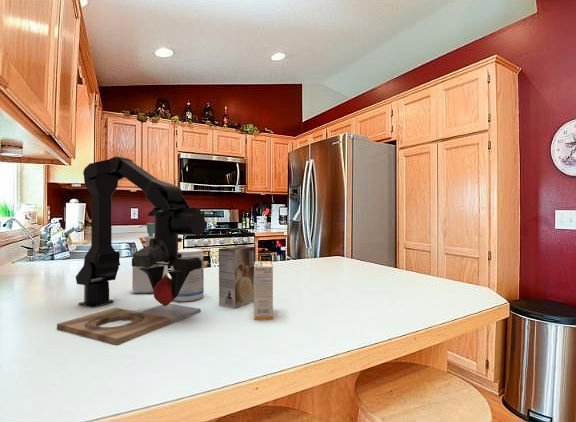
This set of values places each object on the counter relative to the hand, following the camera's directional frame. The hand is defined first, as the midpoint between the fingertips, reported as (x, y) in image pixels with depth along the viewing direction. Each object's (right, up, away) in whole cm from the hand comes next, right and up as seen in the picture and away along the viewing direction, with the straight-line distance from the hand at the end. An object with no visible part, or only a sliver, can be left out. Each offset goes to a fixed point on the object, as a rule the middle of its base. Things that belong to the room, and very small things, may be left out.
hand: (165, 295), depth 82 cm
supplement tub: (0, -5, +16) cm, 17 cm away
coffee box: (+17, -5, +11) cm, 20 cm away
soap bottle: (-15, -5, +26) cm, 31 cm away
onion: (0, -3, 0) cm, 3 cm away
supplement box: (+25, -5, 0) cm, 25 cm away
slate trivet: (0, -5, 0) cm, 5 cm away
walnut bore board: (-8, -5, -8) cm, 13 cm away
